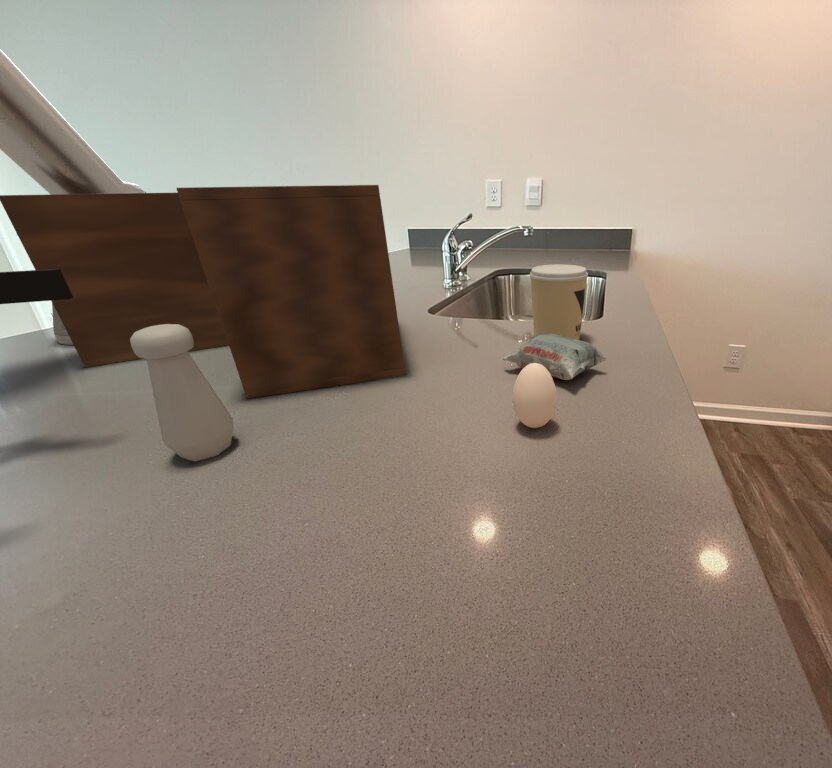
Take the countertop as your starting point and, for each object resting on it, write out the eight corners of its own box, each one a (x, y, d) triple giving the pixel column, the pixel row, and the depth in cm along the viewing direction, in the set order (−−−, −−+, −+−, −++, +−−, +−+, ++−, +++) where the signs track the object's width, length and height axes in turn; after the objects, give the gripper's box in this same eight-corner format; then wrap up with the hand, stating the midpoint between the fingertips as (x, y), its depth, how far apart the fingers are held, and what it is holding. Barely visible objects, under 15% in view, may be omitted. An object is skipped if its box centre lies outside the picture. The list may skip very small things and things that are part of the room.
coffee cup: (588, 348, 66) (592, 273, 61) (530, 349, 66) (530, 274, 61) (580, 330, 75) (583, 263, 69) (529, 331, 75) (529, 264, 70)
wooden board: (246, 398, 52) (175, 187, 42) (281, 337, 75) (241, 190, 64) (406, 375, 58) (378, 184, 47) (393, 324, 80) (373, 188, 70)
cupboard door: (98, 354, 68) (21, 195, 58) (276, 328, 79) (238, 192, 69) (85, 367, 63) (-3, 195, 52) (277, 337, 74) (236, 191, 64)
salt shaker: (233, 428, 45) (191, 314, 40) (247, 448, 42) (203, 326, 36) (168, 449, 42) (112, 328, 36) (177, 474, 38) (116, 342, 32)
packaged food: (572, 394, 51) (573, 357, 49) (502, 371, 58) (501, 338, 56) (605, 373, 57) (608, 339, 55) (538, 354, 64) (539, 324, 62)
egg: (528, 442, 42) (527, 376, 39) (505, 422, 45) (503, 361, 42) (564, 429, 44) (566, 366, 41) (540, 411, 47) (540, 352, 44)
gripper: (-159, 331, 39) (113, 309, 45) (-814, 497, 17) (-119, 412, 23) (-221, 248, 35) (81, 236, 41) (-1119, 325, 14) (-222, 278, 20)
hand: (10, 299), depth 32 cm, fingers open, 13 cm apart
